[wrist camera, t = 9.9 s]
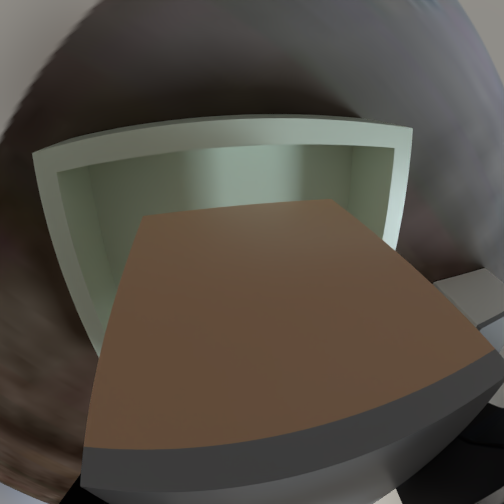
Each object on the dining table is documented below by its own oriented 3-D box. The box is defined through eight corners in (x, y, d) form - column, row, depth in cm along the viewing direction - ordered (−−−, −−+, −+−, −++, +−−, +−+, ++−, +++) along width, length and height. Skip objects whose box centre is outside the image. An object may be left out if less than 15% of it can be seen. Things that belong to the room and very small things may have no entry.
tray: (132, 359, 16) (128, 408, 13) (72, 137, 10) (31, 153, 7) (335, 331, 18) (359, 372, 15) (362, 118, 12) (412, 128, 9)
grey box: (186, 390, 12) (204, 544, 6) (143, 216, 8) (79, 485, 2) (308, 371, 13) (366, 507, 6) (331, 198, 9) (512, 369, 3)
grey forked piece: (484, 268, 19) (526, 303, 14) (414, 405, 29) (434, 437, 24) (321, 306, 17) (363, 377, 12) (293, 447, 26) (307, 489, 21)
